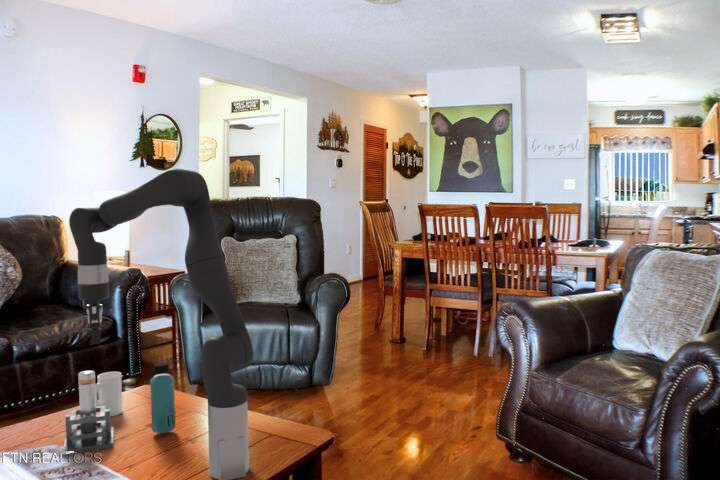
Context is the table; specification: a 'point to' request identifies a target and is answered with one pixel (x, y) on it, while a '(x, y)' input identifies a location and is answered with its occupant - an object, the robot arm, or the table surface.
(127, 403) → the table surface
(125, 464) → the table surface
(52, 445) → the table surface
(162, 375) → the beverage bottle
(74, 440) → the collar stand
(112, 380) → the mug
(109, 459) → the table surface
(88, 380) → the steel tube
